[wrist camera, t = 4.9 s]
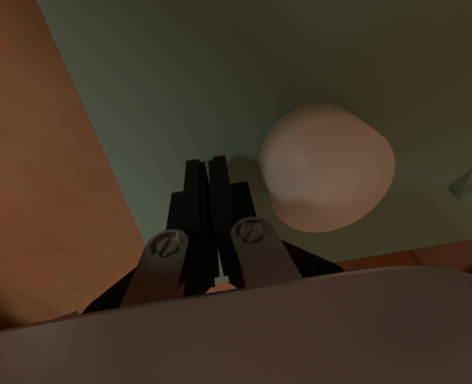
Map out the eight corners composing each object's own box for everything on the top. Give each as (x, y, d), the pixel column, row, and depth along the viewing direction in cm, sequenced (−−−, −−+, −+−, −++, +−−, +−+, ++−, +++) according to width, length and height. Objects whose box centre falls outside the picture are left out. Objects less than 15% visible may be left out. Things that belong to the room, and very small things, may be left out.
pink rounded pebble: (253, 112, 11) (265, 136, 9) (371, 94, 11) (409, 114, 9) (261, 206, 14) (272, 240, 12) (355, 191, 14) (381, 222, 12)
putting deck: (57, -27, 10) (20, -35, 8) (776, -134, 11) (913, -165, 9) (169, 260, 19) (166, 291, 17) (553, 196, 20) (593, 218, 18)
